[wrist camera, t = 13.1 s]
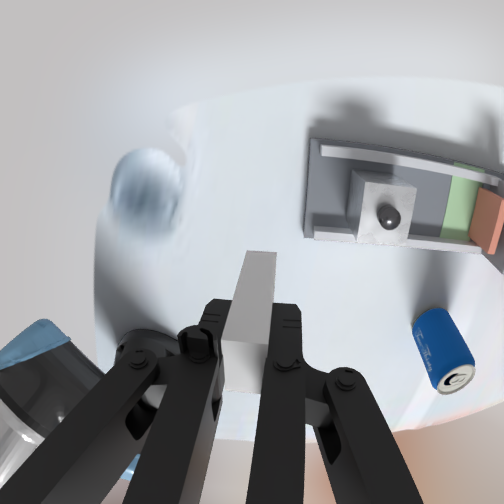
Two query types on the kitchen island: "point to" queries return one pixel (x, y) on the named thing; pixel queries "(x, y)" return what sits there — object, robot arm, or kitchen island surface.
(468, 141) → the kitchen island surface
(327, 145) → the base
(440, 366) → the beverage can
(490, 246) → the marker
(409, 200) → the white cube with knob
